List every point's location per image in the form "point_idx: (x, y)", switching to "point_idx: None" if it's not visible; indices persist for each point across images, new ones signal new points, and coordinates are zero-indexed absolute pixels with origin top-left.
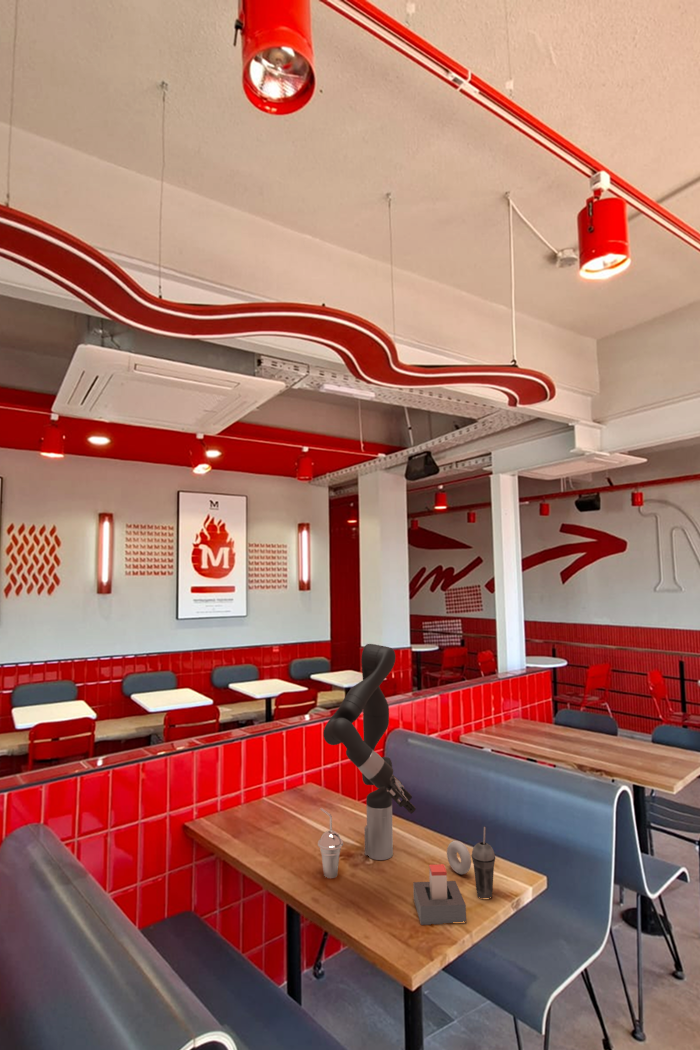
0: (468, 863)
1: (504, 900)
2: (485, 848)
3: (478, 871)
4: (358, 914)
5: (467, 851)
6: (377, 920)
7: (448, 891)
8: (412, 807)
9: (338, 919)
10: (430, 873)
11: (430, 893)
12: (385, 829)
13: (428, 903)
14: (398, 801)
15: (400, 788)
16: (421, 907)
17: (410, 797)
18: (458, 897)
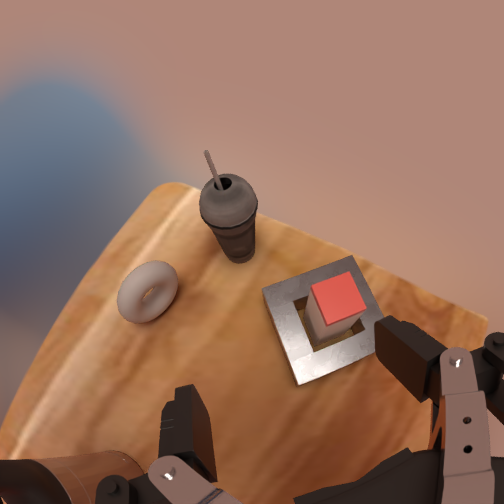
0: (174, 269)
1: None
2: (240, 180)
3: (252, 228)
4: None
5: (156, 262)
6: (394, 431)
7: (299, 301)
8: (413, 328)
9: None
10: (342, 321)
11: (327, 336)
12: (101, 478)
13: None
14: (497, 400)
15: (466, 432)
16: None
17: (195, 395)
18: (331, 272)
